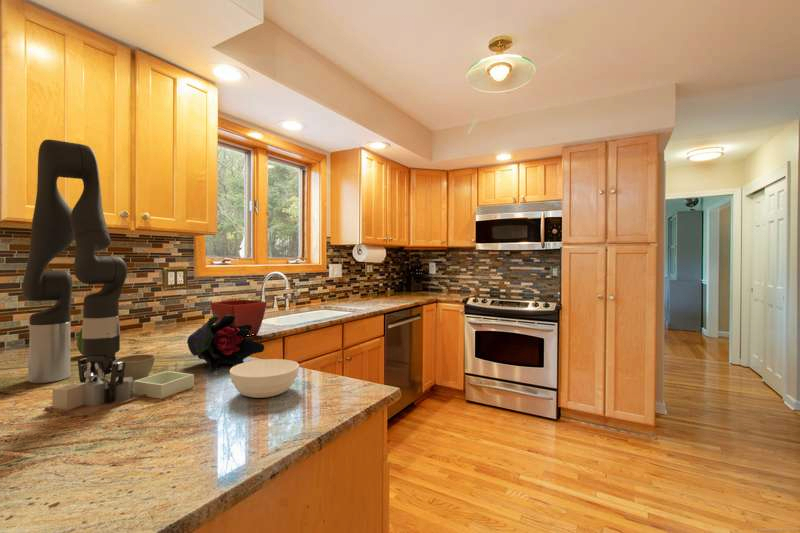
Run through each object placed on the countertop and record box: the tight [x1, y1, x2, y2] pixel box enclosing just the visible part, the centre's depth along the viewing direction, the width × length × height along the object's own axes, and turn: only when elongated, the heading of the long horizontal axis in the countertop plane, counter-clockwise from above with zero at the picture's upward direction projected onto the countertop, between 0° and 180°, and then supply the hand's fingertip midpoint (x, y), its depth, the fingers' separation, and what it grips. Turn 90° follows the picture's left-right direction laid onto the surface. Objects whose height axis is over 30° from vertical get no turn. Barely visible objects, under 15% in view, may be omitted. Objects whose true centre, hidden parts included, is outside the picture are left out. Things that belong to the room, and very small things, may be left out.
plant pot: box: [210, 299, 267, 335], centre depth 186 cm, size 19×19×17 cm
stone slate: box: [82, 379, 110, 406], centre depth 95 cm, size 4×4×5 cm
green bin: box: [132, 370, 195, 400], centre depth 105 cm, size 10×10×4 cm
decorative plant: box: [186, 314, 265, 372], centre depth 130 cm, size 21×26×30 cm
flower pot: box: [116, 353, 156, 381], centre depth 114 cm, size 10×10×7 cm
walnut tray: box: [44, 389, 148, 419], centre depth 95 cm, size 14×16×1 cm
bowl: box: [229, 358, 300, 399], centre depth 105 cm, size 18×18×7 cm
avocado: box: [76, 327, 84, 356], centre depth 144 cm, size 8×8×12 cm
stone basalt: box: [114, 377, 133, 402], centre depth 98 cm, size 4×4×5 cm
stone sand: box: [51, 383, 83, 410], centre depth 92 cm, size 4×4×5 cm
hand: (101, 400), depth 95 cm, fingers open, 5 cm apart
